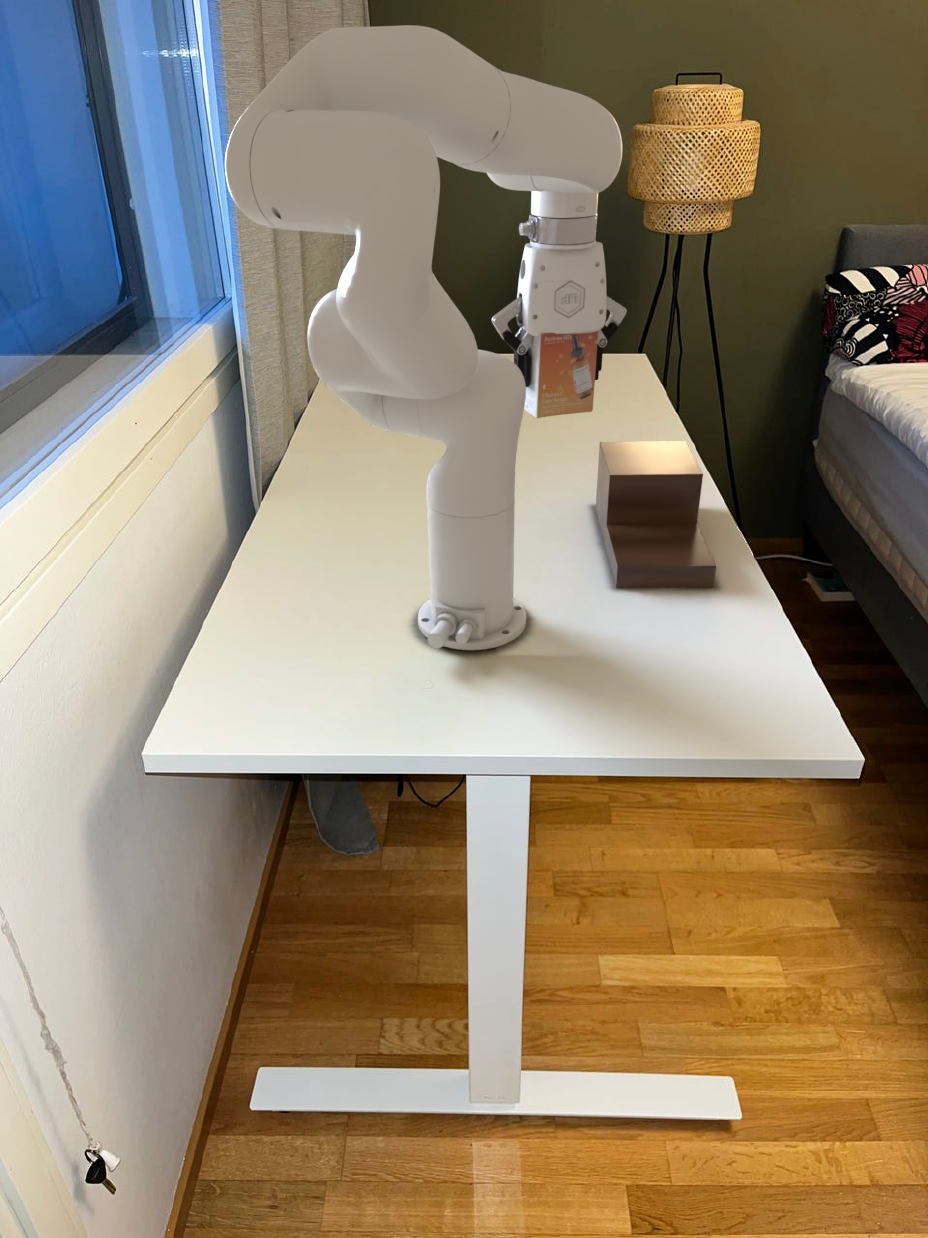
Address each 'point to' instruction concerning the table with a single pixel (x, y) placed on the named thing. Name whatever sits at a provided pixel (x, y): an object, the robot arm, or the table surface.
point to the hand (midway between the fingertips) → (557, 380)
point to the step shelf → (652, 515)
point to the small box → (561, 374)
